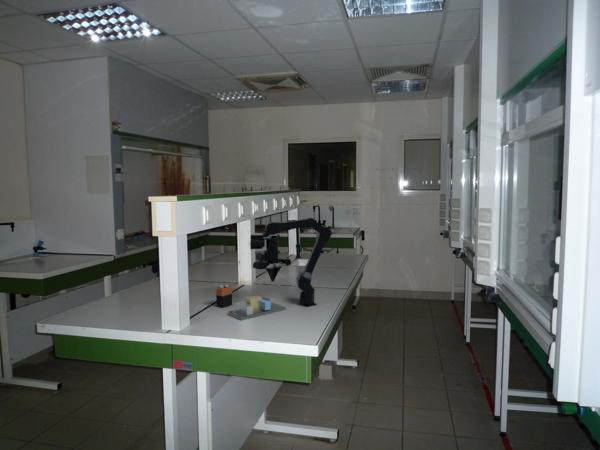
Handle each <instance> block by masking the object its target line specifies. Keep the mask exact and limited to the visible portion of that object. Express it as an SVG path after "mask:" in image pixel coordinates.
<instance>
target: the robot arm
mask: <svg viewBox="0 0 600 450" xmlns="http://www.w3.org/2000/svg"><path fill="white" fill-rule="evenodd" d="M308 227H310V228H312V229H313V230H314V231H316V236H315V237H316V238H315V243H314V245H313V247H312V250H311V253H310V254H309V258H308V260H307V262H306V265H305V267H304V269H303V270H302V271H299V272H298V273H297V274H298V275H297V276H296V278H295V280H296V285H297V287H298V288H299V290H301V292H300V295H299V302H298V303H297V304H298V305H300V306H303V307H307V308H308V307H311V306H316V305H317V304H318V303H316V302H315V291H316V290H315V288H314V287H313V285H312V284H311V283H312V277H313V272H314V269H315V267H316V265H317V262H318V260H319V258H320V256H321V253H322V251H323V248H324V247H325V246H326V244H327V243H328V242H329V241H330V238H331V237H332V234H333V232H332V229H331V228H330V227H328V226H325V225H322V224H321V223H319V222H318V221H316V220H315V219H314V218H313V217H307V218H302V219H297V220H288V221H270V222H269V221H268V223H267V224H266V225H265V228H264V231H263V232H262V234H250V243H249V244H250V250H263V248H265V250H263V251H264V252H263V253H261V252H258V253H256V254H255V260H256V261H254V262H253V263H252V268H253V269H256V270H266V271H267V273H268V276H269V279H270V281H271V282H275V280H276V278H277V275H278V274H279V271H280V270H281V268H283V266H281V265H285V266H291V265H292V260H291V258H287V257H281V258H279V254H280V253H281V250H279V240H282V239H283V237H282V236H281V235H280V233H283V232H286V231H287V230H295V229H301V228H308Z"/></svg>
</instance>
